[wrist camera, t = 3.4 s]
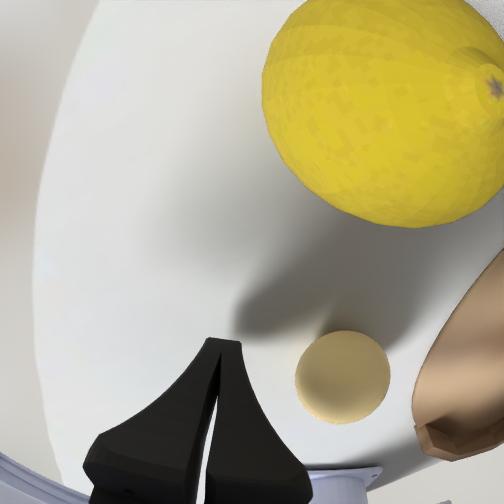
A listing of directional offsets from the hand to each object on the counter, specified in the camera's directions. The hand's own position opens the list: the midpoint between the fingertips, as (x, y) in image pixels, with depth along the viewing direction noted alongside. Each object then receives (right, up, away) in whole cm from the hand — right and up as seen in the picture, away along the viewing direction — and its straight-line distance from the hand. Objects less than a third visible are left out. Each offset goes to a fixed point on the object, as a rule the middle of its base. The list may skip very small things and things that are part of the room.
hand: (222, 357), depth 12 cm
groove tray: (+20, -2, +2) cm, 20 cm away
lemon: (+4, +9, -2) cm, 11 cm away
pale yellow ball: (+5, 0, +1) cm, 5 cm away
